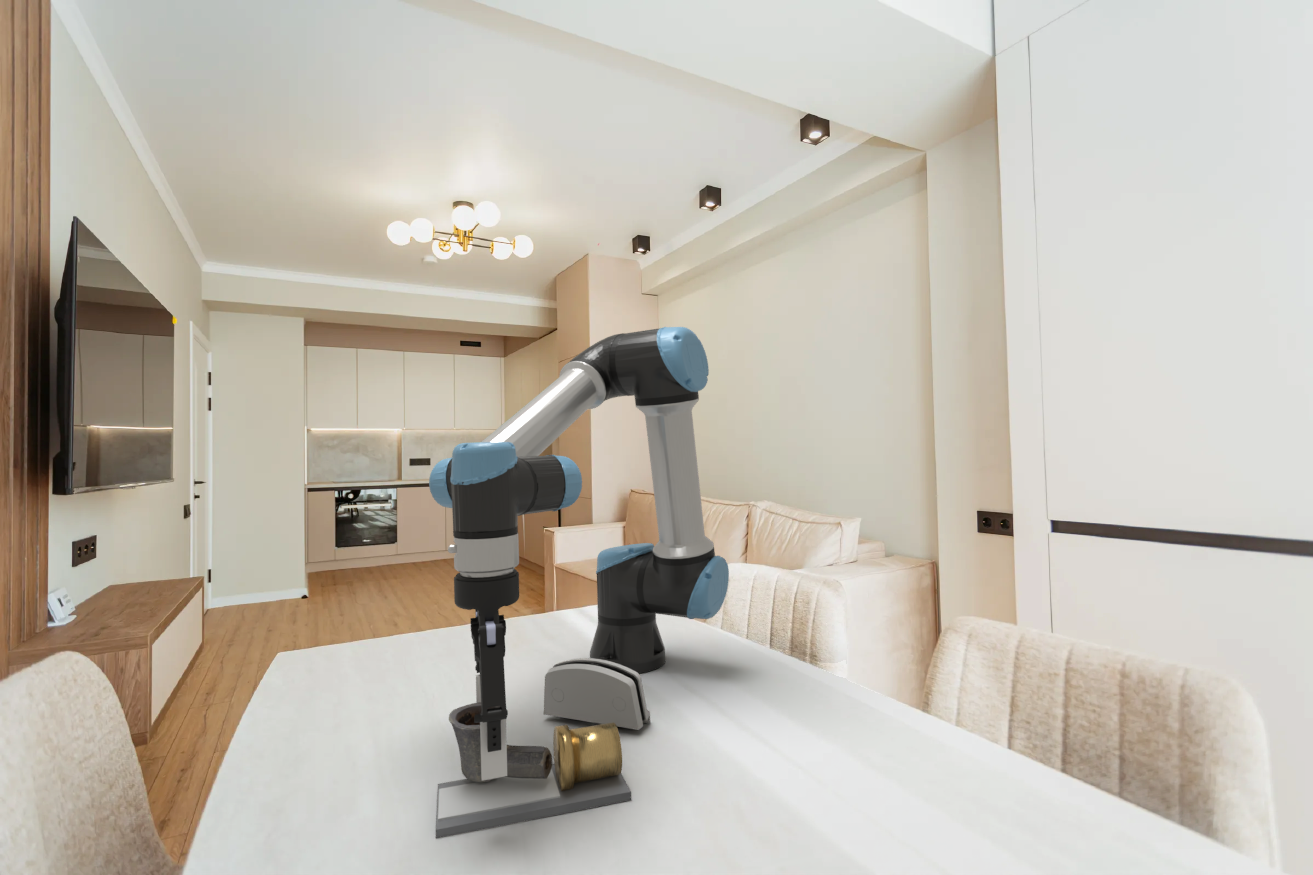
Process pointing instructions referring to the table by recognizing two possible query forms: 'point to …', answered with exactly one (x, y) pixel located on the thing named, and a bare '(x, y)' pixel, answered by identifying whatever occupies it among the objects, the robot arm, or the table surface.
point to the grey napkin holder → (596, 693)
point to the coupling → (586, 753)
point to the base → (518, 801)
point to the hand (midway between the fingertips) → (490, 748)
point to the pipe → (519, 758)
